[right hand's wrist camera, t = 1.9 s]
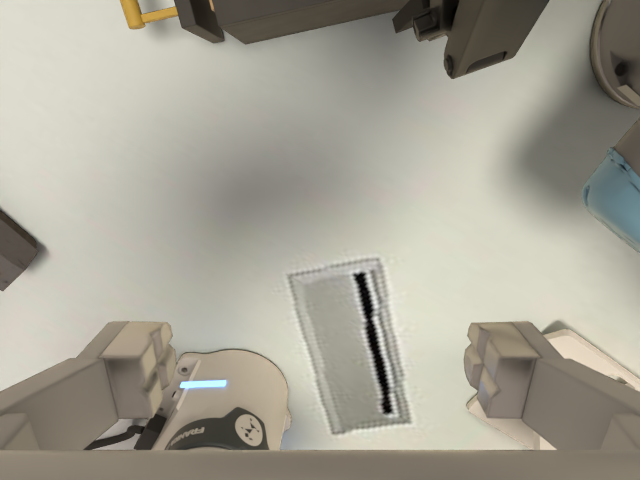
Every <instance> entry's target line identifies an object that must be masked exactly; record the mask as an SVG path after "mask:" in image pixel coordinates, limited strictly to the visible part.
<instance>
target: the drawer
mask: <svg viewBox="0 0 640 480" xmlns="http://www.w3.org/2000/svg"><path fill="white" fill-rule="evenodd" d="M120 2H121V5H122V8H123V11H124V14H125V17H126V20H127V23H128V26H129V28H130V29H141V28H144V27H145V23H150V22H154V21H158V20H163V19H167V18H171V17H176V16H179V19H180V23H181V26H182V28H183V29H185V30H187V31H189V32H191V33H193V34H195V35H198V36H200V37H202V38H204V39H206V40H208V41H210V42H212V43H216V42H221V41H224V38H223V34H222V30H221V27H219V26H218V22H217V18H216V15H215V11H214V7H213V3H212V0H174V2H175V7H171V8H167V9H162V10H158V11H154V12H149V13H145V14H142V13H141V10H140V7H139V3H138V0H120Z"/></svg>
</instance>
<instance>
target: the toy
mask: <svg viewBox="0 0 640 480" xmlns="http://www.w3.org/2000/svg"><path fill="white" fill-rule="evenodd" d="M36 246H37V244H36V241H35V240H34V239H33V238H32V237H31V236H30V235H29V234H27V233H26V232H25V231H24V230H23V229H21V228H20V227H19V226H18V225H17V224H16V223H14V222H13V221H12V220H11V219H10V218H8V217H7V216H6V215H5V214H4V213H3V212H1V211H0V290H1V291H4V290H5V289H6V288H7V287H8V286H9V285H10V284H11V283H12V282H13V281H14V280H15V279H16V278H17V277H18V276H19V275H20V274H21V273H22V272H23V271H25V269H26V268H27V267H28V265H29V264H30V262H31V261H32V260H33V258H34V257H35V255H36V254H37V253H38V250H37V249H36Z"/></svg>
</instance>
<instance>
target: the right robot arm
mask: <svg viewBox="0 0 640 480" xmlns="http://www.w3.org/2000/svg"><path fill="white" fill-rule="evenodd" d="M172 336H173V335H172V330H171V325H170V324H169V323H168V322H133V321H132V322H129V321H113V322H109V323H108V324H107V325H106V326H105V327H104V328H103V329H102V330H101V331H100V332H99V334H98V335H97V336H96V337H95V338H94V339H93V340H92V341H91V342H90V343H89V344H88V345H87V347H86V348H85V349H84V350H83V351H82V352H81V353H80V354H79V355H78V356H77V357H76V358H69V359H67V360H65V361H63V362H61V363H59V364H57V365H55V366H53V367H51V368H49V369H46V370H44V371H42V372H40V373H38V374H36V375H34V376H32V377H30V378H28V379H26V380H24V381H21V382H19V383H17V384H15V385H13V386H11V387H9V388H7V389H5V390H3V391H1V392H0V480H640V392H639V391H637V390H635V389H633V388H631V387H629V386H627V385H625V384H623V383H620V382H618V381H616V380H614V379H612V378H610V377H608V376H606V375H604V374H602V373H600V372H598V371H596V370H593V369H591V368H589V367H587V366H585V365H583V364H581V363H579V362H577V361H575V360H573V359H571V358H564V357H563V356H562V355H561V354H560V353H559V352H558V351H557V350H556V349H555V348H554V347H553V345H552V344H551V343H550V342H549V341H548V340H547V339H546V338H545V337H544V336H543V335H542V333H541V332H540V331H539V330H538V329H537V328H536V327H535V326H534V325H533V324H532V323H531V322H528V321H516V322H485V323H471V324H470V326H469V330H468V335H467V336H468V338H469V340H470V341H471V344H470V345H469V346H468V347H467V348H466V349H465V355H464V369H465V373H466V377H467V379H468V382H469V384H470V385H471V386H472V387H474V388H475V389H476V390H478V394H477V399H478V401H479V403H480V405H481V407H482V409H483V411H484V413H485V415H486V417H487V418H503V419H522V421H523V422H524V423H525V424H526V425H527V426H529V427H530V428H531V429H532V430H534V431H535V432H536V433H537V434H538V435H540V436H541V437H542V438H543V439H545V440H546V441H547V442H548V443H549V444H551V445H552V446H553V447H554V448H556V449H557V450H280V445H281V440H282V435H283V432H285V431H286V430H288V429H289V428H290V425H291V420H292V419H291V415H290V412H289V410H288V408H287V400H288V387H287V383H286V380H285V378H284V376H283V375H282V373H281V372H280V370H279V369H278V368H277V367H276V366H275V365H274V364H273V363H272V362H270V361H269V360H267V359H266V358H264V357H262V356H260V355H258V354H255V353H252V352H248V351H243V350H223V351H218V352H214V353H210V354H200V353H185V354H183V355H182V356H181V357H180V359H179V361H178V363H177V365H176V354H175V349H174V348H173V347H172V346H171V345H170V344H169V341H170V340H171V338H172ZM184 368H187V369H184ZM162 390H163V392H162ZM137 418H148V420H147V423H146V426H145V427H143V426H130V427H129V428H128V429H127V432H126V433H124V434H121V435H118V436H115V437H111V438H108V439H104V440H100V441H96V442H93V441H94V440H96V439H97V438H98V437H99V436H100V435H102V434H103V433H104V432H105V431H107V430H108V429H109V428H110V427H111V426H113V425H114V424H115V423H116V422H118V419H137ZM135 433H137V434H141V435H140V437H139V439H138V441H137V443H136V445H135V447H134V449H135V450H92V449H95V448H99V447H103V446H107V445H111V444H115V443H118V442H121V441H124V440H127V439H129V438H131V437H133V436H134V434H135Z"/></svg>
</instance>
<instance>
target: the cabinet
mask: <svg viewBox="0 0 640 480" xmlns="http://www.w3.org/2000/svg"><path fill="white" fill-rule="evenodd" d="M408 1H409V0H212V3H213V7H214V11H215V15H216V18H217V22H218V26H219V27H221V28H222V29H224V30H225V31H226V32H228V33H229V34H231V35H232V36H234V37H235V38H237V39H238V40H240V41H241V42H243V43H244V44H250V43H254V42H259V41H263V40H268V39H272V38H277V37H281V36H286V35H290V34H295V33H299V32H303V31H308V30H312V29H317V28H321V27H326V26H330V25H335V24H339V23H344V22H348V21H353V20H357V19H362V18H366V17H371V16H375V15H380V14H384V13H389V12H393V11H398V10H401V9H402V8H403V7H404V6H405V5H406V4H407V2H408Z"/></svg>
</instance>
